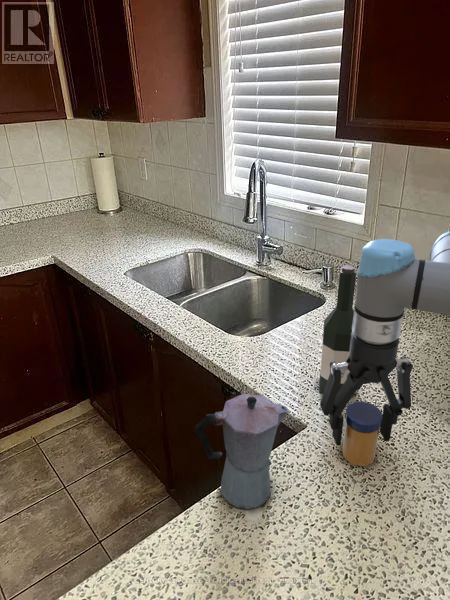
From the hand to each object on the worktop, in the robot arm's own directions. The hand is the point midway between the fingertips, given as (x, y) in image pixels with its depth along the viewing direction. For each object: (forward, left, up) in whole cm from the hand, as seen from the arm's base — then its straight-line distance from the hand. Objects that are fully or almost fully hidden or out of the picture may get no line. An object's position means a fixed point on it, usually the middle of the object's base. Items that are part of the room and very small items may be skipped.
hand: (360, 438), depth 83 cm
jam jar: (0, 0, -4) cm, 4 cm away
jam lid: (0, 0, +6) cm, 6 cm away
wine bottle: (+9, -18, -4) cm, 21 cm away
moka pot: (+16, +17, -4) cm, 24 cm away
